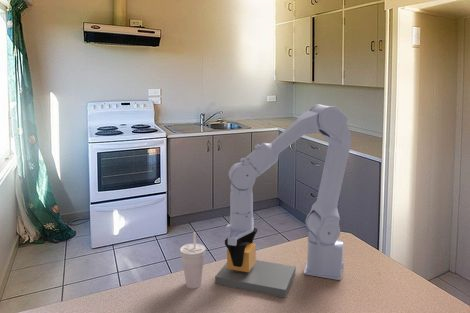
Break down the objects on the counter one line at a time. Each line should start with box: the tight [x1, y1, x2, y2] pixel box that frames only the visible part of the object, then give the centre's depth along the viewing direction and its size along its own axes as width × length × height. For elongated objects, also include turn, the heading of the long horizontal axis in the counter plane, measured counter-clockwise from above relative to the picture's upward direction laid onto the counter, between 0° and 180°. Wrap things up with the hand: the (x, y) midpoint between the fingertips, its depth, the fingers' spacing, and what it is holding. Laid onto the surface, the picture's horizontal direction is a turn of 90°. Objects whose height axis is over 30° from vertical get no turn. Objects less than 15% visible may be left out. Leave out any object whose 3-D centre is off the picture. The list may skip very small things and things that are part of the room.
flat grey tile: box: [214, 259, 297, 298], centre depth 95 cm, size 18×12×5 cm, turn 70°
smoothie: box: [179, 231, 207, 289], centre depth 92 cm, size 6×6×14 cm
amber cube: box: [226, 243, 257, 272], centre depth 96 cm, size 6×6×5 cm
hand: (241, 260), depth 96 cm, fingers closed on amber cube, 6 cm apart
